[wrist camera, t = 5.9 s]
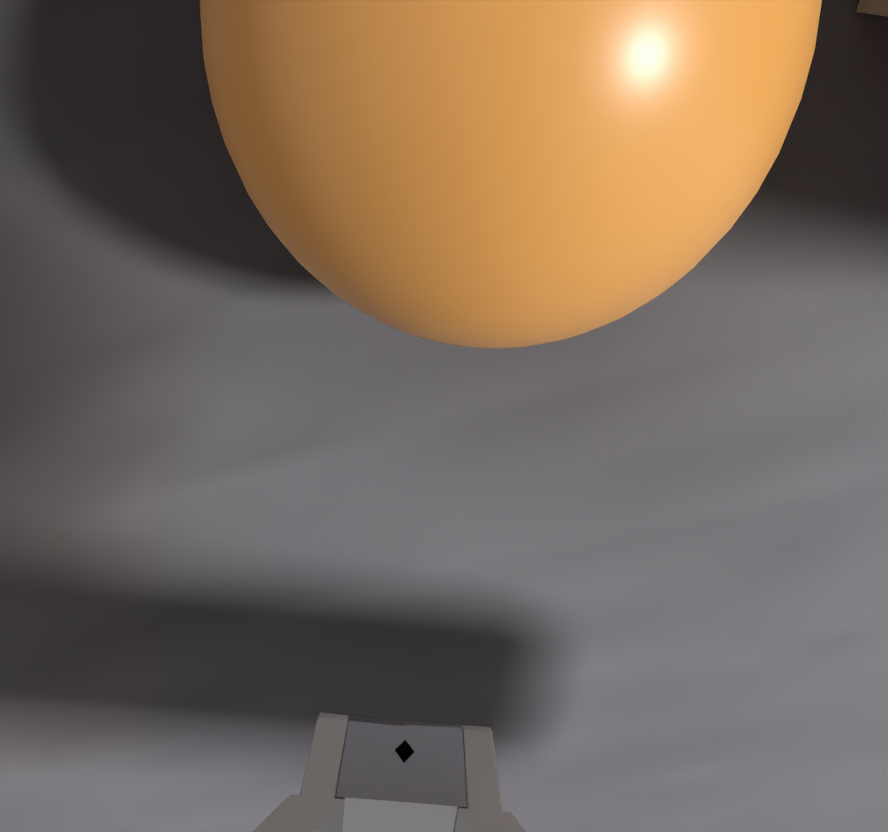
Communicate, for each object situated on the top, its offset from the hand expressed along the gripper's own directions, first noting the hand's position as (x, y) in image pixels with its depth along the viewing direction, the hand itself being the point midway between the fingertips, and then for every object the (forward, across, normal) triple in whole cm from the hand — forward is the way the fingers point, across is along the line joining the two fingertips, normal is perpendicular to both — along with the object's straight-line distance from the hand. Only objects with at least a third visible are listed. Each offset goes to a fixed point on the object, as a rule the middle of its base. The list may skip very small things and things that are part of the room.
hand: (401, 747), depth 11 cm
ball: (-1, 0, -10) cm, 10 cm away
